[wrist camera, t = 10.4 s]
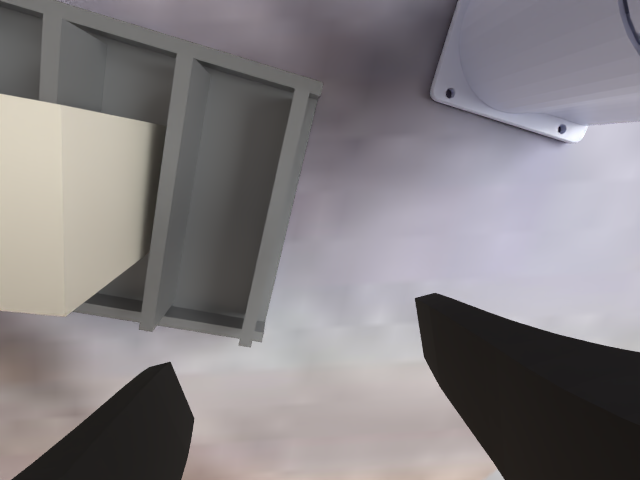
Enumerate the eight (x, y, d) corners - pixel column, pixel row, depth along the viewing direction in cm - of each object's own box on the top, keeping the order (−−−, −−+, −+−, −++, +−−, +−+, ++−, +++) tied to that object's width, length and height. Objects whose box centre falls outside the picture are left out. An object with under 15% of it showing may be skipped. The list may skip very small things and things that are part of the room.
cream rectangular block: (167, 126, 16) (61, 104, 8) (160, 243, 17) (64, 317, 10) (112, 116, 16) (-53, 83, 8) (110, 236, 17) (-31, 308, 9)
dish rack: (319, 88, 17) (330, 70, 13) (263, 325, 20) (258, 366, 16) (-23, -16, 14) (-134, -76, 11) (-25, 276, 18) (-110, 311, 14)
